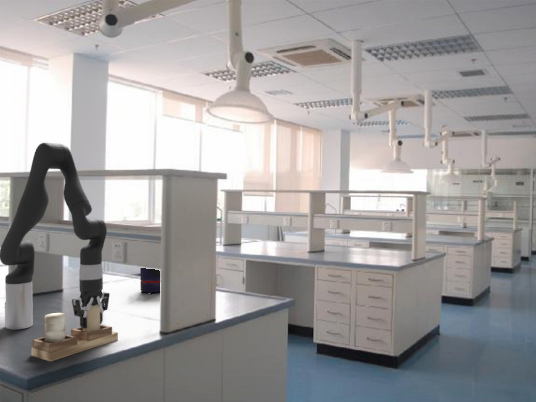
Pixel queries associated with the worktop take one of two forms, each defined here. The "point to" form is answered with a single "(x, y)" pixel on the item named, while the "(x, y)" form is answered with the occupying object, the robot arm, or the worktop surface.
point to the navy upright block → (150, 280)
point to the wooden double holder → (68, 339)
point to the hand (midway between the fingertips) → (91, 325)
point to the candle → (93, 319)
